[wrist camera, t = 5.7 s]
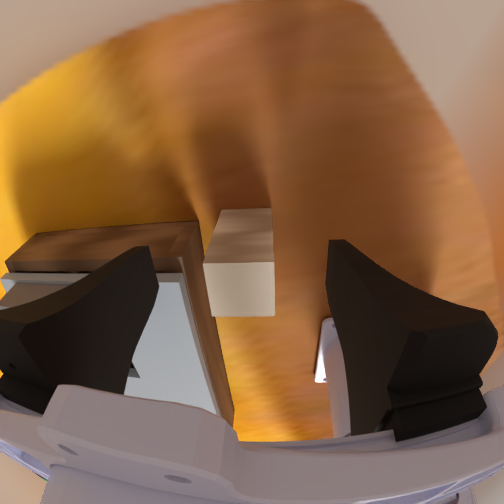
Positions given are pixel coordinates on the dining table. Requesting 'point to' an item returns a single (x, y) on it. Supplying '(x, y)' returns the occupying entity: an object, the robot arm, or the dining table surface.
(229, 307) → the wooden block
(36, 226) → the dining table surface
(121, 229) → the toolbox
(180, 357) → the toolbox lid
